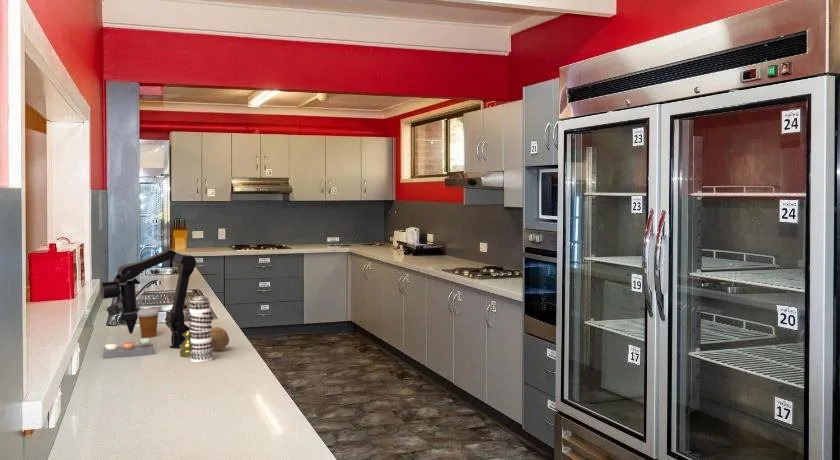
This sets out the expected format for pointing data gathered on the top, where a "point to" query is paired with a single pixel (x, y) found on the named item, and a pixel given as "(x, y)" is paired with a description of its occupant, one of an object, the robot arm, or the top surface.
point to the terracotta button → (128, 345)
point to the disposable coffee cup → (148, 322)
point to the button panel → (129, 351)
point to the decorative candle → (200, 329)
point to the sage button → (145, 341)
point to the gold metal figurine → (186, 345)
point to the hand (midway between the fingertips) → (130, 333)
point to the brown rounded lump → (219, 338)
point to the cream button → (111, 346)
